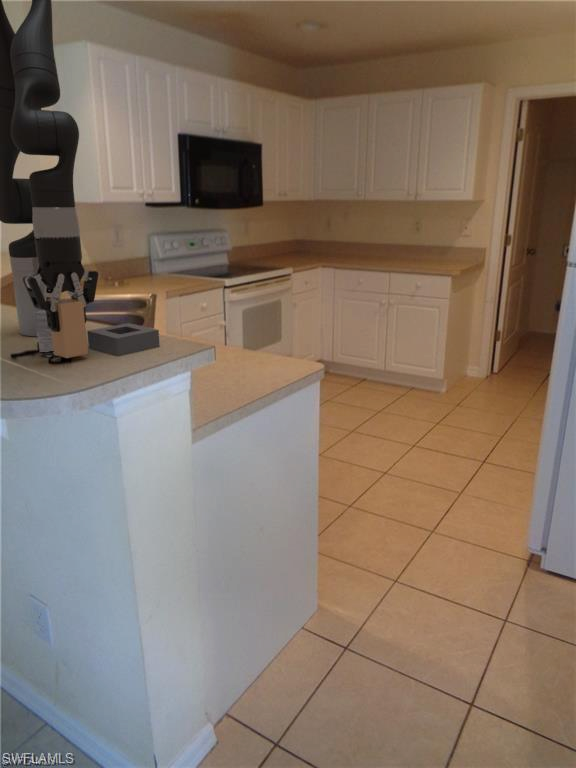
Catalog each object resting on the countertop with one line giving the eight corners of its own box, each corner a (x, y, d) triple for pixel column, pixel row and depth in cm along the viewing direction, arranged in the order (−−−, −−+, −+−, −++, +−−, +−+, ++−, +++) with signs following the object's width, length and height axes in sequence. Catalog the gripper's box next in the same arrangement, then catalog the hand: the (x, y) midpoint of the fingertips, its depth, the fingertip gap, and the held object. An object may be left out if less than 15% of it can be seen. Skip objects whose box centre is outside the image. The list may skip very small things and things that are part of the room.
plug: (53, 354, 106) (47, 301, 103) (75, 349, 109) (69, 298, 106) (66, 358, 103) (60, 304, 100) (88, 353, 107) (82, 301, 104)
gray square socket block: (89, 349, 115) (87, 330, 114) (130, 341, 123) (128, 323, 121) (118, 358, 109) (116, 338, 108) (159, 348, 117) (158, 329, 115)
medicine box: (59, 356, 110) (54, 312, 108) (39, 355, 111) (33, 311, 108) (80, 346, 118) (76, 305, 115) (61, 345, 119) (56, 304, 116)
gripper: (81, 231, 107) (90, 320, 112) (6, 234, 97) (20, 332, 102) (104, 233, 103) (112, 325, 108) (28, 236, 92) (42, 338, 97)
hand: (67, 328), depth 105 cm, fingers closed on plug, 4 cm apart
